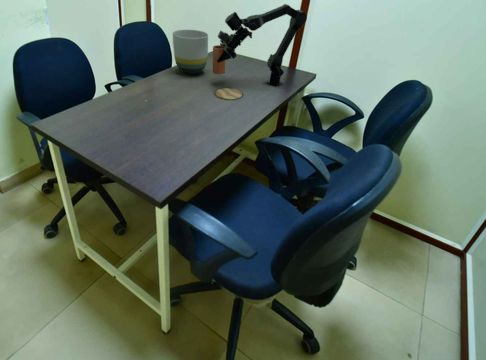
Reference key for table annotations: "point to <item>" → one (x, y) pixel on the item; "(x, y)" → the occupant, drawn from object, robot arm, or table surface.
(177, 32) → the planter
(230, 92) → the beige flat disc
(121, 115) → the table surface
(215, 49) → the terracotta pot
